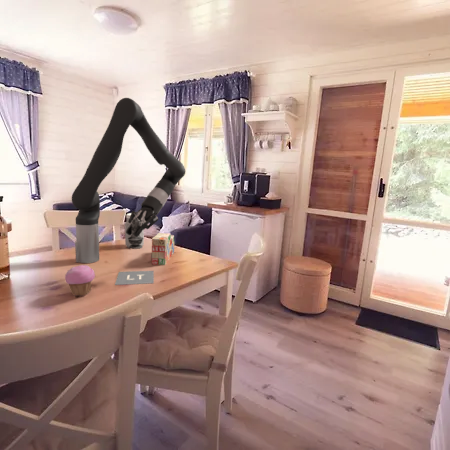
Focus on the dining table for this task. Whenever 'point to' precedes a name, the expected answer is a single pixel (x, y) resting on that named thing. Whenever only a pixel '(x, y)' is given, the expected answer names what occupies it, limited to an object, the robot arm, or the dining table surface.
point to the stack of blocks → (162, 248)
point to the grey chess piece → (135, 240)
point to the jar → (130, 235)
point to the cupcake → (80, 279)
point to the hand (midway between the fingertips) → (131, 234)
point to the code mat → (135, 277)
